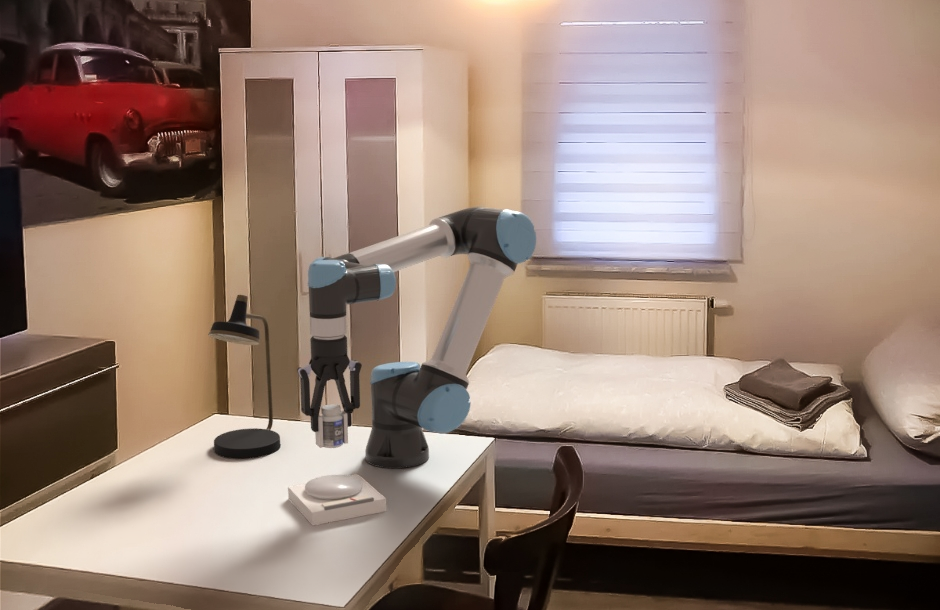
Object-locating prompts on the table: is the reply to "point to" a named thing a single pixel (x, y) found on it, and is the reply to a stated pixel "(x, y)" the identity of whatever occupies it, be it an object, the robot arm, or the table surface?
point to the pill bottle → (332, 426)
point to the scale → (336, 498)
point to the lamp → (266, 440)
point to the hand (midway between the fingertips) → (331, 443)
